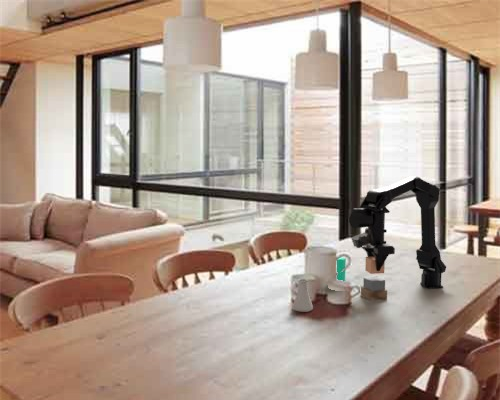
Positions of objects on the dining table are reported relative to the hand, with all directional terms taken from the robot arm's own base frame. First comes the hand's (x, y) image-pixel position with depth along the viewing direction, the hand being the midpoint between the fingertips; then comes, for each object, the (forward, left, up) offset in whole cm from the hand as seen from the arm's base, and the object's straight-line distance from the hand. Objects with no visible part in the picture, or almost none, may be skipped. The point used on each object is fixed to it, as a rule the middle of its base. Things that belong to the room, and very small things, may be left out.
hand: (375, 269), depth 194 cm
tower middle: (0, 0, -7) cm, 7 cm away
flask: (+29, +9, -11) cm, 32 cm away
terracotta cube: (0, 0, -1) cm, 1 cm away
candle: (+7, -19, -11) cm, 23 cm away
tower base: (0, 0, -11) cm, 11 cm away
